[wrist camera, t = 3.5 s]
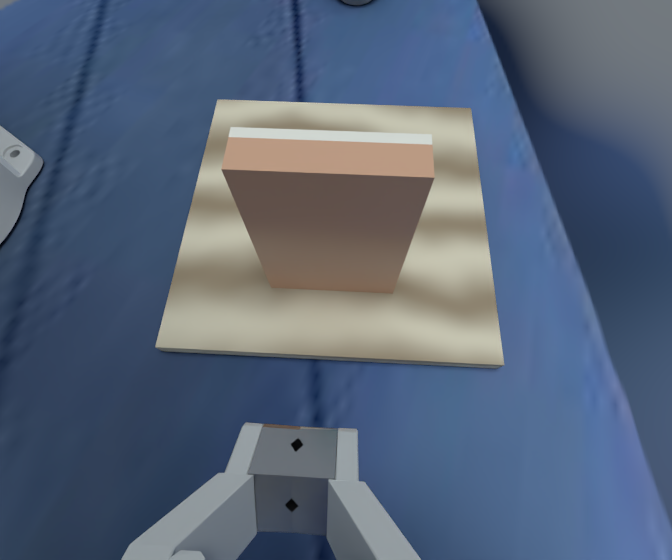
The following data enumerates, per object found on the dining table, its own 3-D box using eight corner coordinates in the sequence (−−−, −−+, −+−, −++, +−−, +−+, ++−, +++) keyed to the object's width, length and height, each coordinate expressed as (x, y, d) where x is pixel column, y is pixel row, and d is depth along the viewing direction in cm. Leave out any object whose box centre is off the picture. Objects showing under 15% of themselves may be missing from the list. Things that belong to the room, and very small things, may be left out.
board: (497, 368, 26) (504, 365, 25) (162, 351, 27) (155, 347, 26) (466, 118, 36) (470, 108, 35) (221, 109, 37) (217, 99, 36)
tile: (271, 287, 28) (221, 169, 16) (275, 259, 29) (230, 126, 17) (392, 293, 27) (434, 177, 16) (392, 264, 28) (431, 134, 17)
